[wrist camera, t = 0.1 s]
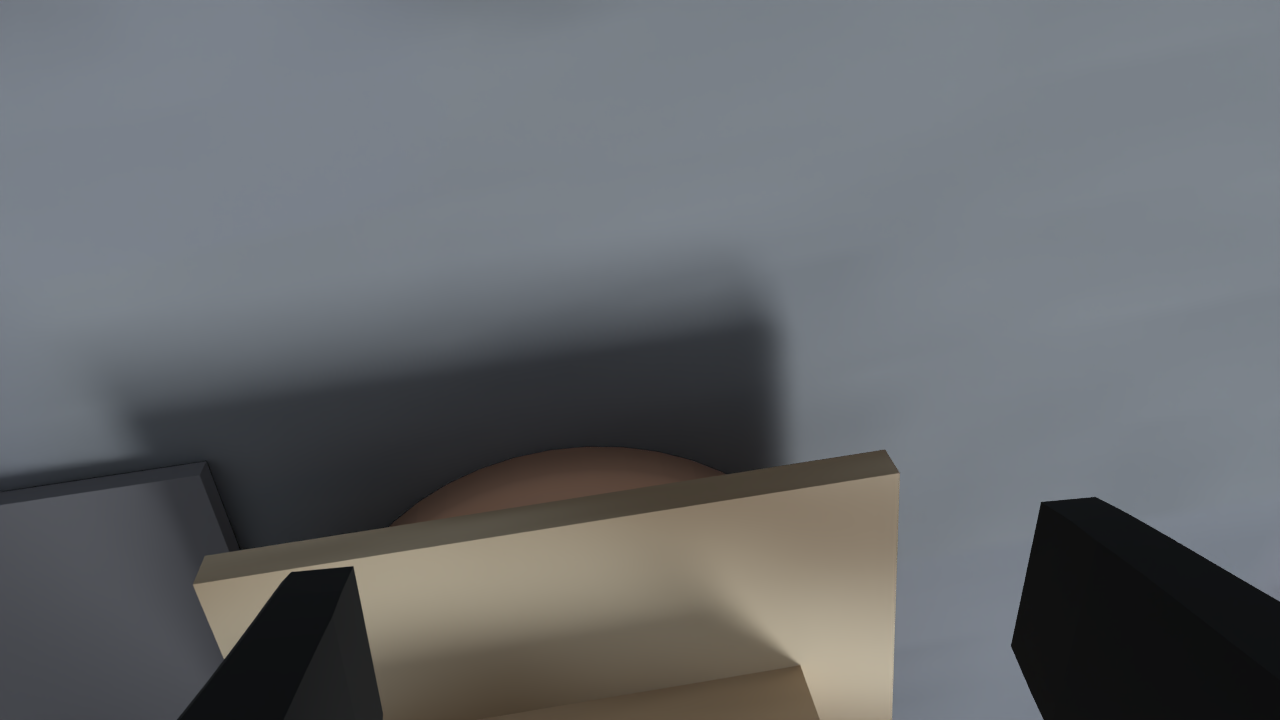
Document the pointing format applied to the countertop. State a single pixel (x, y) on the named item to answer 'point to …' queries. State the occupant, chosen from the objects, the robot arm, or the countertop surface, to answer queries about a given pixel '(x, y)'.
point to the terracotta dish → (554, 480)
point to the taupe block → (621, 600)
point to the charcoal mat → (108, 595)
